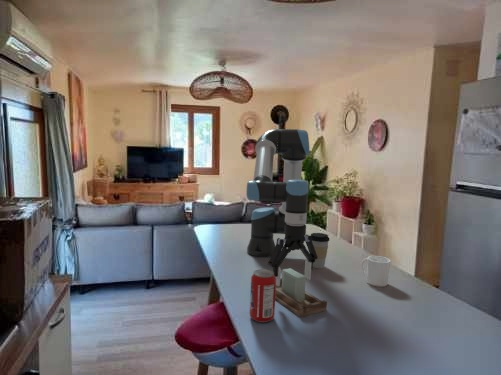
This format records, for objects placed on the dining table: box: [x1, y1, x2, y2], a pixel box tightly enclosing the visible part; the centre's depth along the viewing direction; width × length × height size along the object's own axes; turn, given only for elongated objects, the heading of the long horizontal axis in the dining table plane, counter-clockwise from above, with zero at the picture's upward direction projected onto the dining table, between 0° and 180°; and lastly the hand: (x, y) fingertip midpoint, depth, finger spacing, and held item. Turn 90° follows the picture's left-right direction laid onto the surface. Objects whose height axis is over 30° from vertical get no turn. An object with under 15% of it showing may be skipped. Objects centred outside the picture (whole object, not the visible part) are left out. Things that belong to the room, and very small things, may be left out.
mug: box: [361, 255, 391, 288], centre depth 142 cm, size 11×9×10 cm
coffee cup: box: [310, 232, 330, 269], centre depth 160 cm, size 9×9×15 cm
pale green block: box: [281, 268, 306, 302], centre depth 123 cm, size 9×4×9 cm, turn 30°
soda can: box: [249, 268, 276, 323], centre depth 108 cm, size 8×8×15 cm
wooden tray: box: [275, 277, 328, 318], centre depth 124 cm, size 24×11×3 cm, turn 30°
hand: (292, 281), depth 123 cm, fingers open, 13 cm apart
